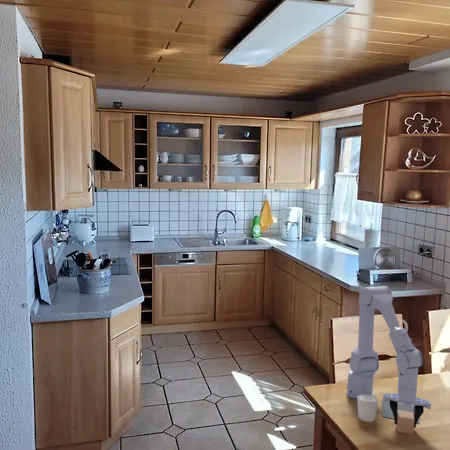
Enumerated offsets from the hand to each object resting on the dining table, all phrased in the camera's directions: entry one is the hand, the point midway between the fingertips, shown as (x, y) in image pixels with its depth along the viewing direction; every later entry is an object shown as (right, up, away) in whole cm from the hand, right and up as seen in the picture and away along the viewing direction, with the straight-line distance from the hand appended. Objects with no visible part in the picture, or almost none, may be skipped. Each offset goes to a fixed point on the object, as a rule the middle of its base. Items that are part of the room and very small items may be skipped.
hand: (404, 424), depth 143 cm
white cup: (-11, -1, +7) cm, 13 cm away
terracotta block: (0, -2, 0) cm, 2 cm away
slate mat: (+3, 0, +11) cm, 11 cm away
